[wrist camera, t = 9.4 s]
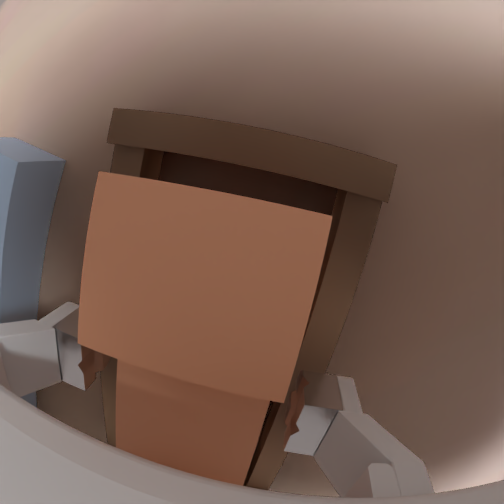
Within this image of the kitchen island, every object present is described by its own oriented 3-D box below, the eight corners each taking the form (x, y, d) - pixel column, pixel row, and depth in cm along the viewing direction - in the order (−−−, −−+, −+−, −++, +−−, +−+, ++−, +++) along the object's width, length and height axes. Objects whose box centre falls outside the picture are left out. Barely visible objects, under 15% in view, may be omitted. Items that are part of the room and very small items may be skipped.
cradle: (143, 117, 9) (113, 108, 7) (375, 165, 9) (396, 164, 7) (120, 436, 13) (105, 462, 11) (265, 477, 13) (261, 507, 11)
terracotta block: (179, 195, 10) (-4, 143, 2) (303, 221, 10) (389, 206, 2) (143, 472, 11) (77, 592, 4) (230, 496, 11) (202, 633, 3)
